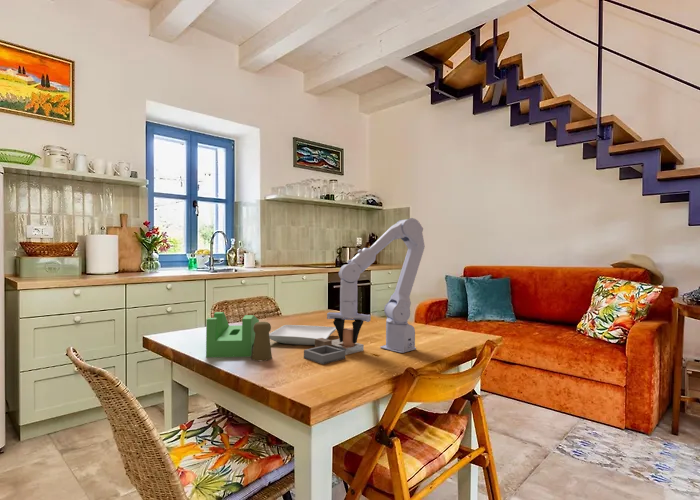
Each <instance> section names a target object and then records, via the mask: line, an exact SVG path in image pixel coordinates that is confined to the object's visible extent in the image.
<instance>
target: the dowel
mask: <svg viewBox="0 0 700 500" xmlns="http://www.w3.org/2000/svg"><path fill="white" fill-rule="evenodd" d="M343 346H345V347H352V346H355V343H353V327H347V328H346V327H344V329H343Z"/></svg>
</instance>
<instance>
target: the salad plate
mask: <svg viewBox="0 0 700 500" xmlns="http://www.w3.org/2000/svg"><path fill="white" fill-rule="evenodd" d="M336 331H337V329H336V327H335V326H323V325H320V326H319V325H303V324H284V325H282V326H280V327H279V328H276V329H274V331H272V332H271V331H270V332H269V337H270V341H273V342H278V343H280V344H286V345H287V344H288V345H301V346H302V345H303V346H305V345H306V346H315V339H318V338H324V339H329V337H330V336H331V335H332V334H333V333H334V332H336Z"/></svg>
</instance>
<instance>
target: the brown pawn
mask: <svg viewBox="0 0 700 500" xmlns="http://www.w3.org/2000/svg"><path fill="white" fill-rule="evenodd" d="M253 329H254V332H255V339H254V343H253V346H252V355H251V360H252V361H257V362H263V361H269V360H271V359H273V357H272V356H273V354H272V348H271V347H272V346H271V339H270V337H269V334H270V333H271V329H272V326H271V323H270V322H269V321H259V322H257V323H255V324H254V327H253Z"/></svg>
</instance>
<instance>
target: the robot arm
mask: <svg viewBox="0 0 700 500" xmlns="http://www.w3.org/2000/svg"><path fill="white" fill-rule="evenodd" d="M423 231H424V228H423V226H422V224H421V223H420V222H419V220H418V219H416V218H413V217H409V218H408V219H400V220H397V222H396V223H394V224H392V225H391V226H390V227H389V228H388V229H387V230H386V231H385V232H384V233H382V235H380V236H379V238H378V239H377V240H376V241H375V242H373V243H372V245H370V247H363V248H360V249H357V254H355V255H354V256H353V258H350V259H348V260H347V264H343V265H341V267H340V268H339V271H338V277H339V278H340V287H339V312H330V311H329V312H327V313H326V319H327V320H333V322H332V323H333V325H334V327H336V331H337V335H338V339H339V340H340V342H342V341H343V329H344V328H345V321H346V320H347V321H352V322H351V323H352V328H353V343H358V338H359V333H360V330H361V329H362V326H363V324H364V322H366V323H369V322H371V321H372V320H371V318H372V317H371V314H364V313H358V291H359V289H358V280H359V279H360V276H361V274H362V273H364V272H365V271H366V270H367V269H368V268H369V267H371V265H372V264H374V262H375V261H376V258H377V255H378V254H379V253H380V252H381V251H383V250H384V249H385V248H386V247H387V246H389V244H391V242H393V241H395V240H399V239H400V240H401V241H403V243H404V244H405V246H406V248H407V251H406V254H405V258H404V261H403V264H402V266H401V269H400V274H399V277H398V280H397V283H396V286H395V290H394V292H393V293H392V294H391V295H390V298H389V300H388V302H387V303H385V305H384V307H383V309H384V315H385V316H386V320H385V345H380V349H384V350H388V351H391V352H396V353H401V354H404V353H408V352H410V351H414V350H416V349H417V347H416V330H415V327H414V326H413V325H412V324H410V323H409V321H408V320H409V319H410V317H411V305H412V302H411V298H410V297H411V293H412V290H413V287H414V283H415V281H416V278H417V277H416V276H417V273H418V271H419V267H420V263H421V262H422V261H421V260H422V258H423V253H424V251H425V248H426V247H425V241H424V235H423Z"/></svg>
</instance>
